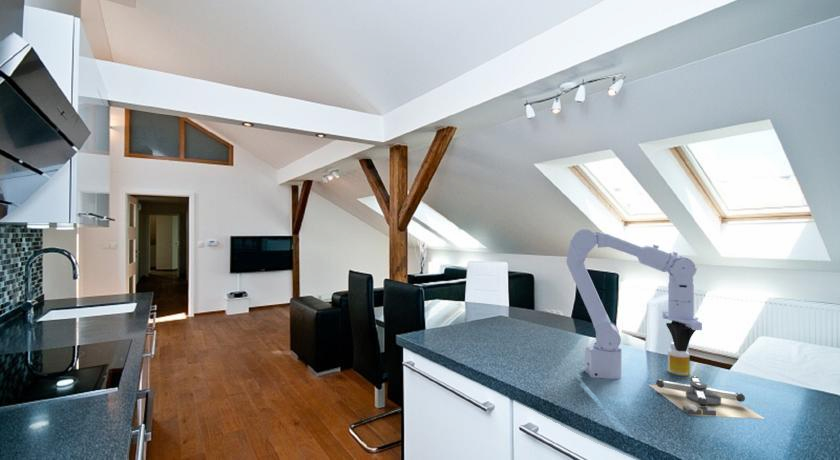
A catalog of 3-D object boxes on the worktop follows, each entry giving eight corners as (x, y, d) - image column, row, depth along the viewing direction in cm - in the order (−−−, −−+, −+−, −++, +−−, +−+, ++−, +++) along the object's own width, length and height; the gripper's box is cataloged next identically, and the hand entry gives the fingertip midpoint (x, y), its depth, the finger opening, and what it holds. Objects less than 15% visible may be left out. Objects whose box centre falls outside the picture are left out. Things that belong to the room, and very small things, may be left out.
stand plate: (689, 420, 86) (689, 415, 86) (648, 388, 104) (648, 384, 104) (765, 424, 85) (765, 418, 85) (710, 391, 103) (710, 386, 103)
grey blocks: (688, 414, 87) (688, 406, 87) (682, 410, 89) (682, 402, 89) (716, 415, 86) (716, 407, 86) (710, 411, 88) (710, 403, 88)
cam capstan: (754, 422, 83) (754, 405, 83) (656, 403, 92) (656, 388, 92) (737, 393, 99) (737, 379, 99) (655, 379, 108) (655, 366, 108)
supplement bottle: (693, 380, 111) (693, 346, 111) (672, 378, 112) (672, 345, 112) (684, 373, 116) (684, 341, 116) (664, 372, 117) (664, 340, 117)
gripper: (714, 305, 97) (714, 359, 97) (680, 296, 112) (680, 343, 112) (685, 305, 98) (685, 358, 98) (655, 296, 112) (655, 342, 112)
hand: (680, 350), depth 105 cm, fingers closed
